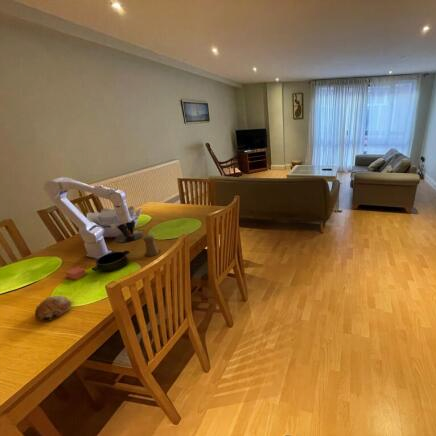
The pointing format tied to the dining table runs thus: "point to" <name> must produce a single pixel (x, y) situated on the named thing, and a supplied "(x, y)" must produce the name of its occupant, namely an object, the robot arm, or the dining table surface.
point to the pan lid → (129, 237)
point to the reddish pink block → (76, 273)
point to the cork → (150, 245)
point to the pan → (111, 262)
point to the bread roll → (52, 308)
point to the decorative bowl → (110, 220)
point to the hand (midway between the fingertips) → (128, 235)
